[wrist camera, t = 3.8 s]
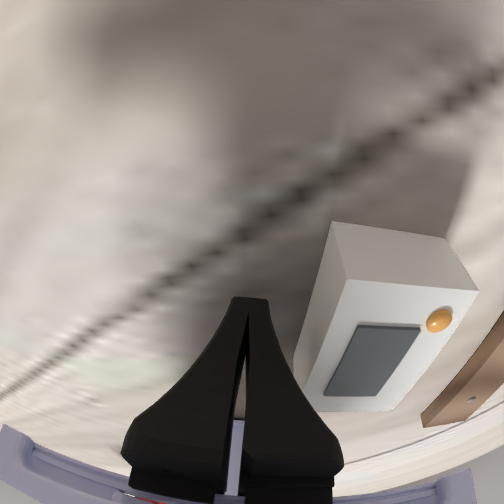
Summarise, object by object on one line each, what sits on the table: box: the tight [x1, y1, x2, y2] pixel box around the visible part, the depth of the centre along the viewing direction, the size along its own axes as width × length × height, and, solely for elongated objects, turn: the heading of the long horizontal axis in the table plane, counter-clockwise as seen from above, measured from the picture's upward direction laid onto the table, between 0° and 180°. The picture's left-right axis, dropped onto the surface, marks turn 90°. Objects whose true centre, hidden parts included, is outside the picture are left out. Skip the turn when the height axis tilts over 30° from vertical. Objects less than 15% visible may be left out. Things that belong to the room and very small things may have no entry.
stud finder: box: [293, 221, 479, 412], centre depth 12 cm, size 8×5×4 cm, turn 175°
